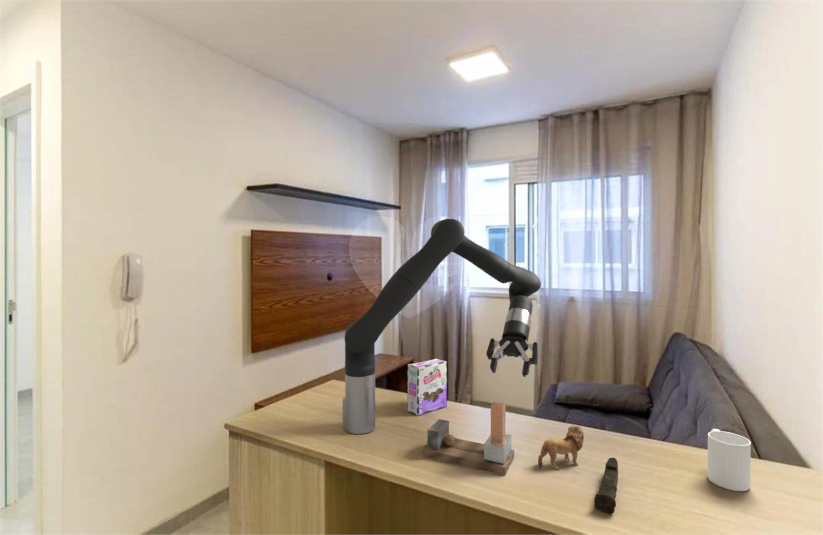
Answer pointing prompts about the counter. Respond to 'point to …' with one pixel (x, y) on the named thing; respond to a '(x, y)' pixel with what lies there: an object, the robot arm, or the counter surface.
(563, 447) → the lion figurine
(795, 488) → the counter surface
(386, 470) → the counter surface
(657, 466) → the counter surface
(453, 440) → the hazelnut
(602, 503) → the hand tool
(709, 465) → the mug
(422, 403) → the candy box
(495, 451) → the block
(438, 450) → the press base
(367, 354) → the robot arm
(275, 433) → the counter surface
